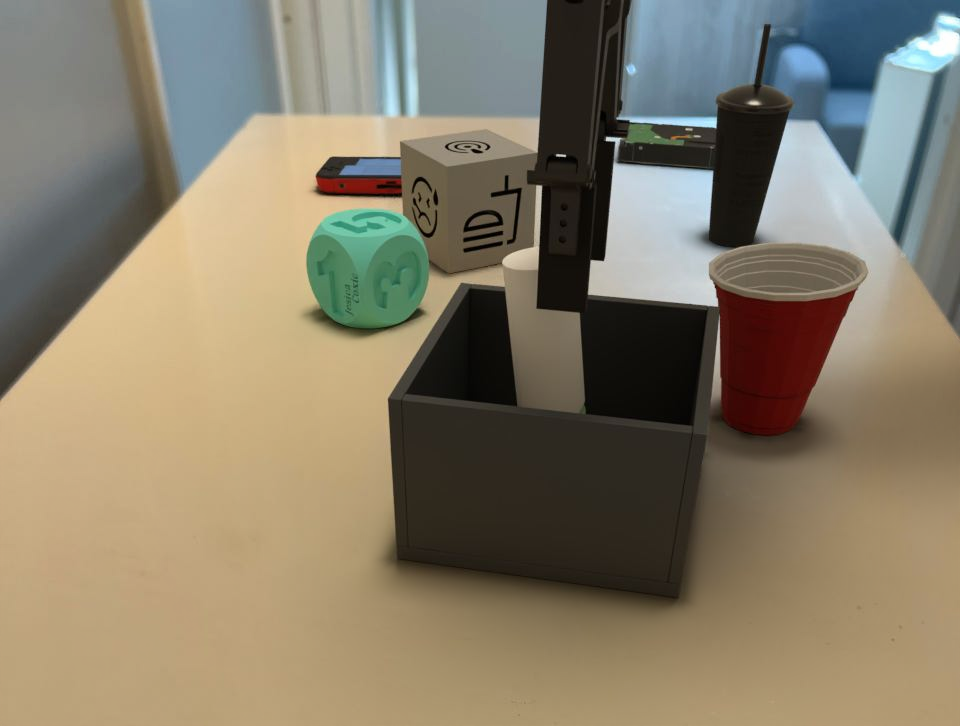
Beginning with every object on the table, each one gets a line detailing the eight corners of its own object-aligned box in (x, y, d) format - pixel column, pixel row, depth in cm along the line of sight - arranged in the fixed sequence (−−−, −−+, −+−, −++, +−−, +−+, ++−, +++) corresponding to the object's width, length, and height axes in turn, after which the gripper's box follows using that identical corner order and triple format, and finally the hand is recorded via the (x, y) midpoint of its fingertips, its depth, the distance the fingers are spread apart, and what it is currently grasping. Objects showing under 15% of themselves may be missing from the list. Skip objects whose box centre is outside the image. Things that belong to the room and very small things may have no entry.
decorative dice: (309, 311, 91) (300, 221, 86) (375, 288, 96) (370, 201, 91) (365, 337, 87) (359, 244, 82) (432, 311, 92) (429, 222, 86)
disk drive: (734, 151, 134) (625, 142, 136) (738, 128, 132) (627, 119, 135) (732, 172, 126) (616, 162, 129) (736, 149, 125) (619, 139, 127)
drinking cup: (752, 256, 103) (794, 35, 90) (684, 242, 106) (715, 26, 93) (777, 235, 108) (819, 22, 95) (711, 223, 111) (743, 14, 98)
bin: (695, 453, 72) (720, 306, 65) (678, 598, 59) (707, 434, 52) (461, 426, 75) (460, 282, 68) (396, 558, 62) (387, 398, 55)
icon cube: (533, 256, 103) (537, 152, 96) (448, 273, 99) (447, 166, 92) (485, 228, 109) (486, 128, 103) (404, 243, 105) (399, 141, 99)
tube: (551, 508, 64) (530, 275, 55) (513, 485, 67) (488, 260, 58) (603, 485, 66) (591, 254, 57) (564, 463, 69) (546, 241, 60)
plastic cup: (700, 376, 82) (725, 227, 74) (835, 399, 79) (875, 246, 71) (670, 436, 74) (694, 276, 66) (818, 464, 71) (861, 301, 63)
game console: (442, 167, 127) (441, 148, 125) (434, 198, 117) (434, 178, 116) (330, 164, 127) (328, 146, 126) (313, 195, 118) (311, 175, 116)
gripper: (560, -242, 51) (539, 220, 66) (471, -257, 36) (470, 347, 51) (708, -242, 49) (652, 229, 64) (681, -257, 34) (616, 362, 49)
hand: (572, 280), depth 57 cm, fingers open, 7 cm apart
